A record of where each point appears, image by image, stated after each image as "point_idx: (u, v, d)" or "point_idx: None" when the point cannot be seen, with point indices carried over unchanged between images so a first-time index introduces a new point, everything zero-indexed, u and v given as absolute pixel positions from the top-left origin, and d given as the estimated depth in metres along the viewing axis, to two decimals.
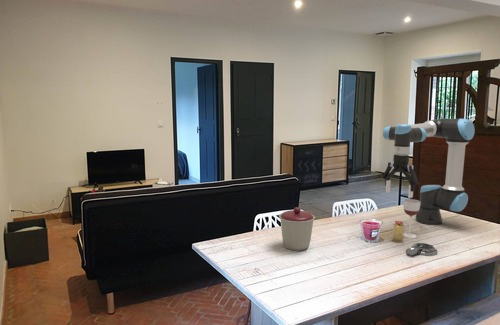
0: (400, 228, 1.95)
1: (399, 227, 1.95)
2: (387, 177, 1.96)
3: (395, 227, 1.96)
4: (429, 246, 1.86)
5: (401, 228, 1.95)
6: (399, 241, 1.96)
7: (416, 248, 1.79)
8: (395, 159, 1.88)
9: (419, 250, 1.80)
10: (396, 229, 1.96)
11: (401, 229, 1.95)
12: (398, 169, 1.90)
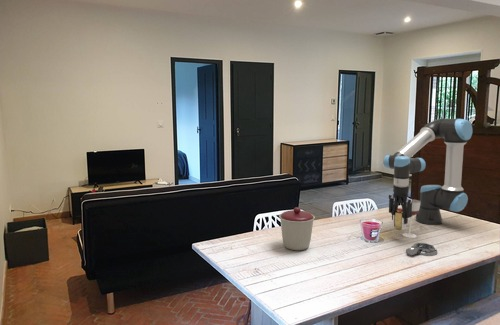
0: (402, 215, 1.94)
1: (401, 214, 1.94)
2: (393, 211, 1.99)
3: (397, 215, 1.96)
4: (429, 246, 1.86)
5: None
6: (401, 228, 1.96)
7: (416, 248, 1.79)
8: (395, 190, 1.93)
9: (419, 250, 1.80)
10: (397, 217, 1.95)
11: None
12: (398, 200, 1.95)
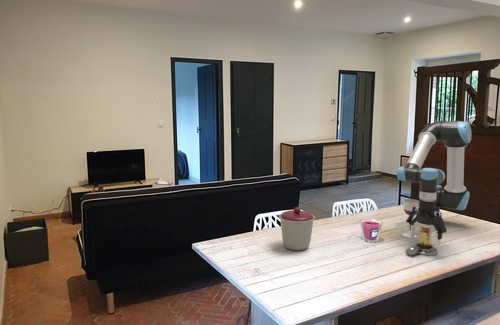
0: (428, 235, 1.81)
1: (426, 234, 1.81)
2: (412, 222, 1.88)
3: (422, 234, 1.82)
4: None
5: (428, 235, 1.81)
6: None
7: (416, 248, 1.79)
8: (421, 205, 1.80)
9: (419, 250, 1.80)
10: (423, 236, 1.82)
11: (428, 236, 1.81)
12: (424, 215, 1.82)
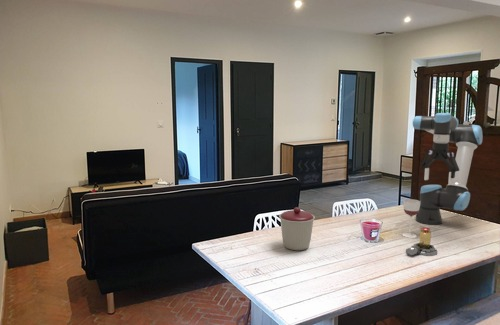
0: (428, 235, 1.81)
1: (426, 234, 1.81)
2: (426, 165, 2.01)
3: (422, 234, 1.82)
4: None
5: (428, 235, 1.81)
6: None
7: (416, 248, 1.79)
8: (435, 147, 1.93)
9: (419, 250, 1.80)
10: (423, 236, 1.82)
11: (428, 236, 1.81)
12: (438, 157, 1.95)
